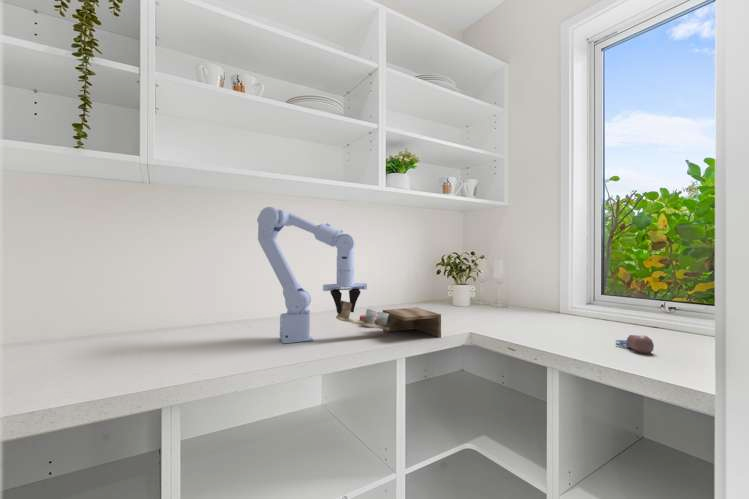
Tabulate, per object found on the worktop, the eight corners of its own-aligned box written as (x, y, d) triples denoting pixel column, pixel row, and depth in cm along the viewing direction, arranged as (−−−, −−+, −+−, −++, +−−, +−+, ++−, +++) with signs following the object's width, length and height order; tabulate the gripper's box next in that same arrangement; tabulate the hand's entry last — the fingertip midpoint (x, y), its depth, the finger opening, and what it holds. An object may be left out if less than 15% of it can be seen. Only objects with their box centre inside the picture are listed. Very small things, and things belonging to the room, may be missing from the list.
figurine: (610, 350, 104) (641, 355, 92) (608, 333, 105) (639, 336, 93) (627, 350, 104) (661, 355, 93) (625, 332, 105) (658, 336, 93)
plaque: (360, 310, 146) (395, 310, 146) (360, 319, 146) (395, 319, 146) (358, 318, 128) (398, 318, 128) (358, 328, 128) (398, 328, 128)
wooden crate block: (404, 341, 107) (404, 317, 107) (382, 331, 122) (382, 309, 122) (441, 337, 113) (441, 314, 113) (416, 327, 128) (416, 307, 128)
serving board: (340, 320, 107) (344, 301, 108) (335, 318, 112) (340, 300, 113) (388, 330, 114) (392, 312, 114) (382, 327, 118) (386, 310, 119)
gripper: (326, 271, 104) (326, 315, 104) (370, 270, 110) (370, 312, 110) (321, 270, 111) (321, 312, 110) (362, 269, 116) (362, 309, 116)
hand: (345, 312), depth 110 cm, fingers closed on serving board, 4 cm apart
